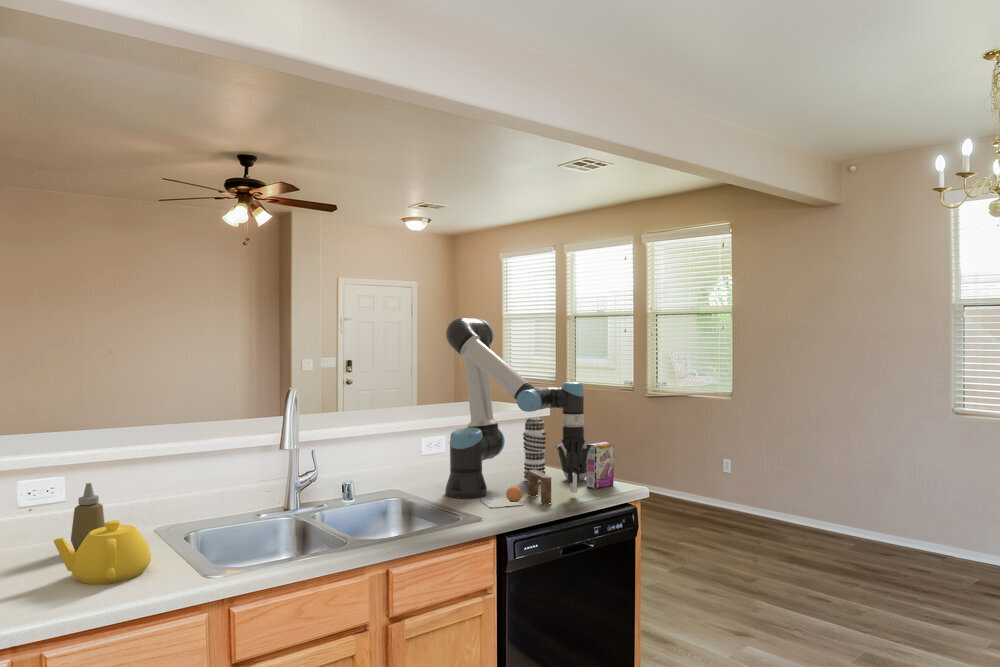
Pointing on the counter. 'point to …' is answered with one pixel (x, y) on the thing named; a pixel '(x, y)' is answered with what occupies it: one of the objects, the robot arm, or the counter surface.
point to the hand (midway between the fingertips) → (573, 491)
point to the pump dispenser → (581, 475)
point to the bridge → (545, 485)
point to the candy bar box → (600, 465)
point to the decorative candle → (534, 445)
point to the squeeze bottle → (86, 516)
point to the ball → (514, 494)
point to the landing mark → (488, 502)
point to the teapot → (107, 554)
